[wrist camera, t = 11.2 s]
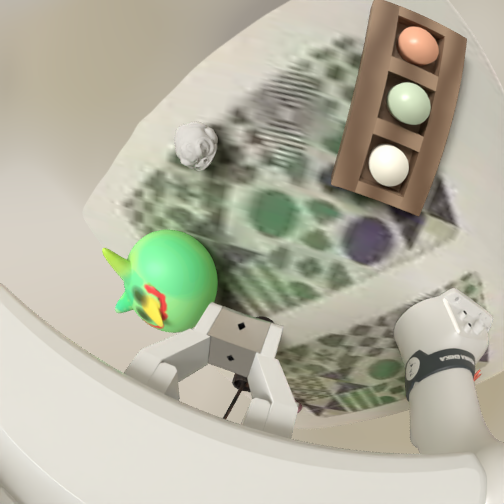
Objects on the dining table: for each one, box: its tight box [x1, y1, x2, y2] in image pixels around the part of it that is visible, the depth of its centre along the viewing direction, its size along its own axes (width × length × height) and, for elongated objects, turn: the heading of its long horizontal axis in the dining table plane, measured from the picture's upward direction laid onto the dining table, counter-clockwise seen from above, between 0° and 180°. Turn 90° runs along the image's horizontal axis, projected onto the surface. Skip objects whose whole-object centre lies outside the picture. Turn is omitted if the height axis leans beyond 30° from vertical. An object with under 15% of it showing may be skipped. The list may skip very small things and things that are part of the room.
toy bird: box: [102, 230, 218, 333], centre depth 43 cm, size 18×17×15 cm
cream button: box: [368, 144, 409, 186], centre depth 28 cm, size 5×5×2 cm
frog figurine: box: [174, 122, 218, 171], centre depth 34 cm, size 6×7×7 cm
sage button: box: [386, 83, 431, 125], centre depth 23 cm, size 5×5×2 cm
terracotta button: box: [396, 27, 439, 66], centre depth 20 cm, size 5×5×2 cm
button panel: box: [331, 0, 467, 216], centre depth 25 cm, size 12×25×4 cm, turn 169°
